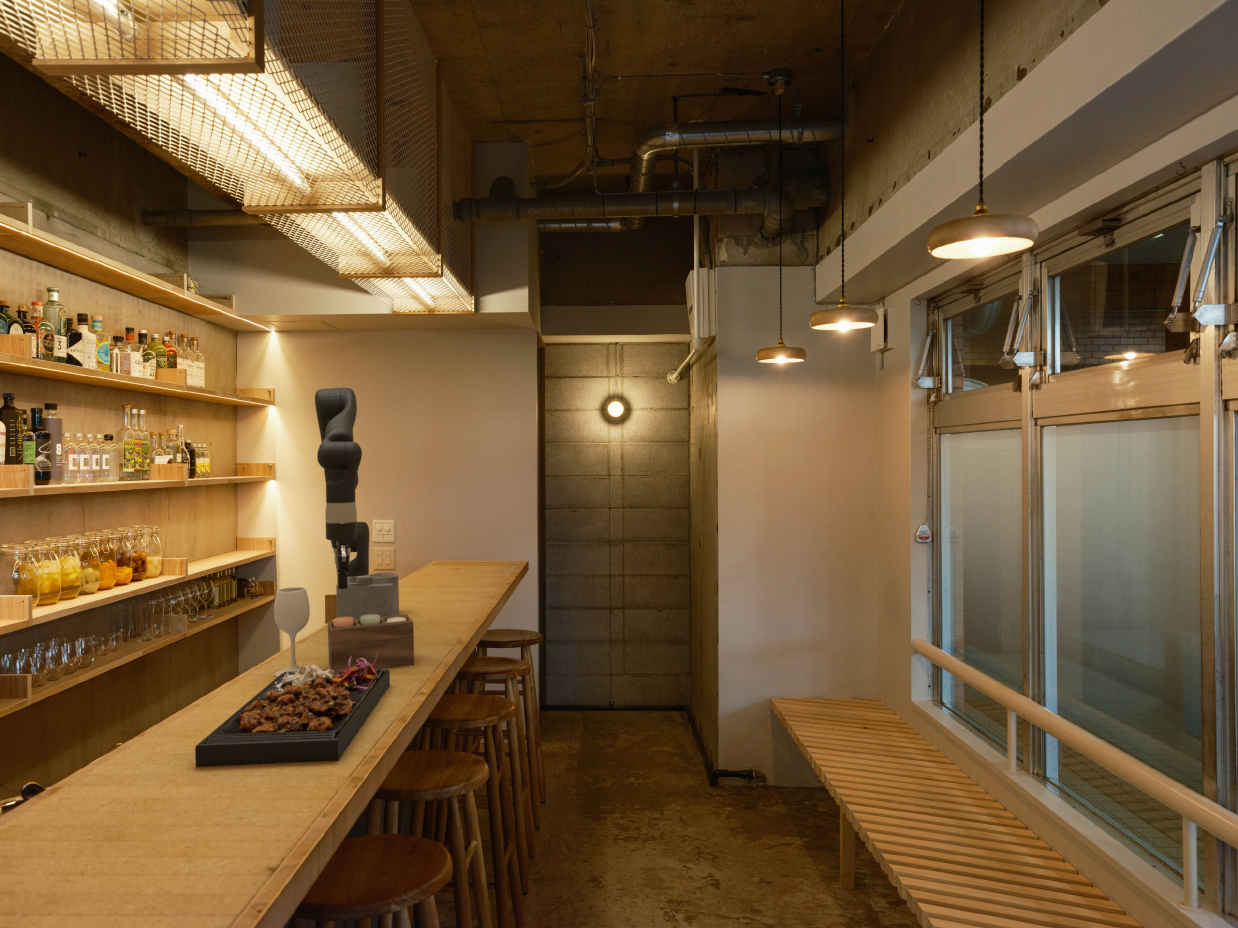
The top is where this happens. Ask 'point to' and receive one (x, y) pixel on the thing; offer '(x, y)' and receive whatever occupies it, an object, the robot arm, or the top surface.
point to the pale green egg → (370, 619)
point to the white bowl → (291, 617)
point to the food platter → (298, 718)
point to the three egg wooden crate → (372, 643)
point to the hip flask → (364, 599)
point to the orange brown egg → (343, 622)
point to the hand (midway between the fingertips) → (342, 588)
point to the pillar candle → (388, 579)
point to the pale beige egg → (396, 619)
